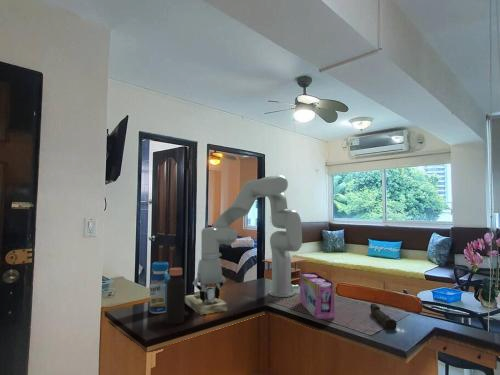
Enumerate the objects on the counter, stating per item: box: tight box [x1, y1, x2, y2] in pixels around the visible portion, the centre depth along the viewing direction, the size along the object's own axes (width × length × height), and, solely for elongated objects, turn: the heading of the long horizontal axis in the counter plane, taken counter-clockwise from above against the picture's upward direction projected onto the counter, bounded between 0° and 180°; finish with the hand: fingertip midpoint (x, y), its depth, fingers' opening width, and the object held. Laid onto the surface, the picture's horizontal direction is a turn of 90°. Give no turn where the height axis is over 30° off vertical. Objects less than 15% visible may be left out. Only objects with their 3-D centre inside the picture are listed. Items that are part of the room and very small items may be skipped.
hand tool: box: [370, 303, 398, 331], centre depth 122 cm, size 19×4×5 cm, turn 177°
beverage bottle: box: [148, 261, 170, 314], centre depth 135 cm, size 8×8×20 cm
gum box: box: [299, 272, 336, 320], centre depth 135 cm, size 24×8×14 cm, turn 8°
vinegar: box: [165, 267, 186, 326], centre depth 122 cm, size 7×7×20 cm
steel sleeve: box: [204, 286, 216, 305], centre depth 136 cm, size 4×4×9 cm
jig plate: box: [184, 293, 228, 316], centre depth 140 cm, size 12×20×3 cm, turn 30°
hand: (209, 298), depth 136 cm, fingers open, 5 cm apart
